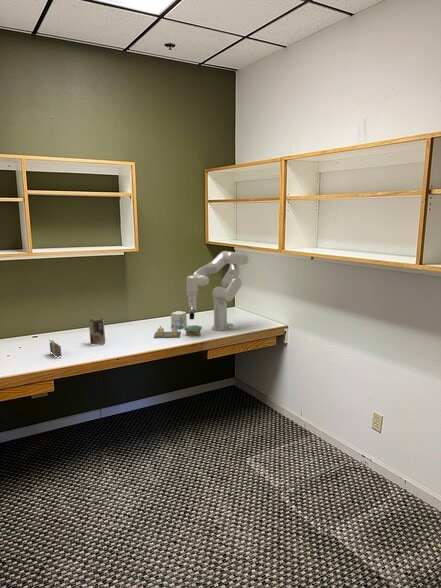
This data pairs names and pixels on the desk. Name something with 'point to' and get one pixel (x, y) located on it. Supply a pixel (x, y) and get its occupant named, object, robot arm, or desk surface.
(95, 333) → the coffee box
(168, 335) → the chassis
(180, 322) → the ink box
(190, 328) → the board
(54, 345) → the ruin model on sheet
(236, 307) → the desk surface
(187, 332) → the block
